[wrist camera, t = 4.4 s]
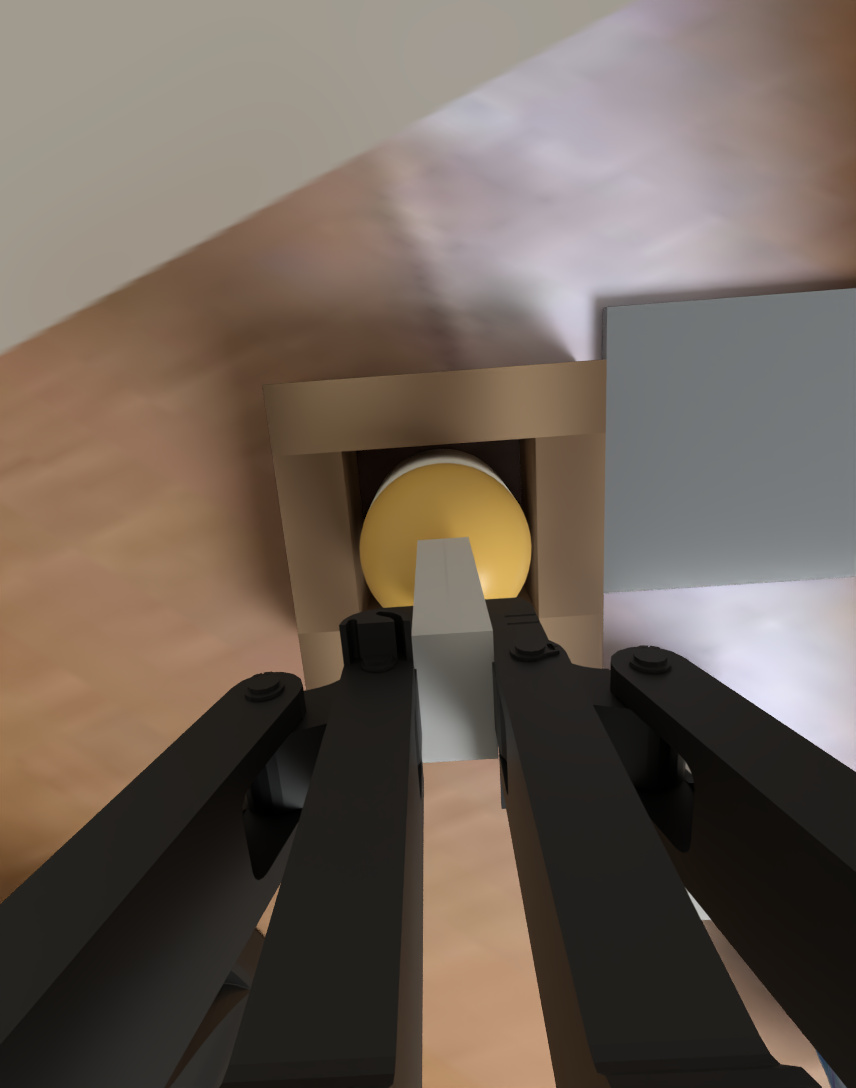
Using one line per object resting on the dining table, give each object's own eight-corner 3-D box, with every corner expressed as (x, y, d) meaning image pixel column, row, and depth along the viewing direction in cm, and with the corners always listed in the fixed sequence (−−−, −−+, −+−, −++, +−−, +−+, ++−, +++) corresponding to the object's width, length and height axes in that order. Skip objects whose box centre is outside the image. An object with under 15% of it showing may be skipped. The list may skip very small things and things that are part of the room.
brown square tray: (323, 646, 27) (306, 689, 23) (289, 384, 24) (262, 384, 20) (577, 629, 27) (602, 671, 23) (577, 362, 24) (606, 359, 20)
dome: (379, 590, 25) (359, 672, 18) (365, 454, 24) (338, 485, 17) (514, 580, 25) (548, 660, 18) (510, 443, 24) (545, 471, 16)
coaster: (599, 588, 26) (603, 593, 26) (602, 308, 23) (607, 307, 22) (864, 571, 26) (874, 575, 26) (905, 286, 23) (918, 283, 22)
